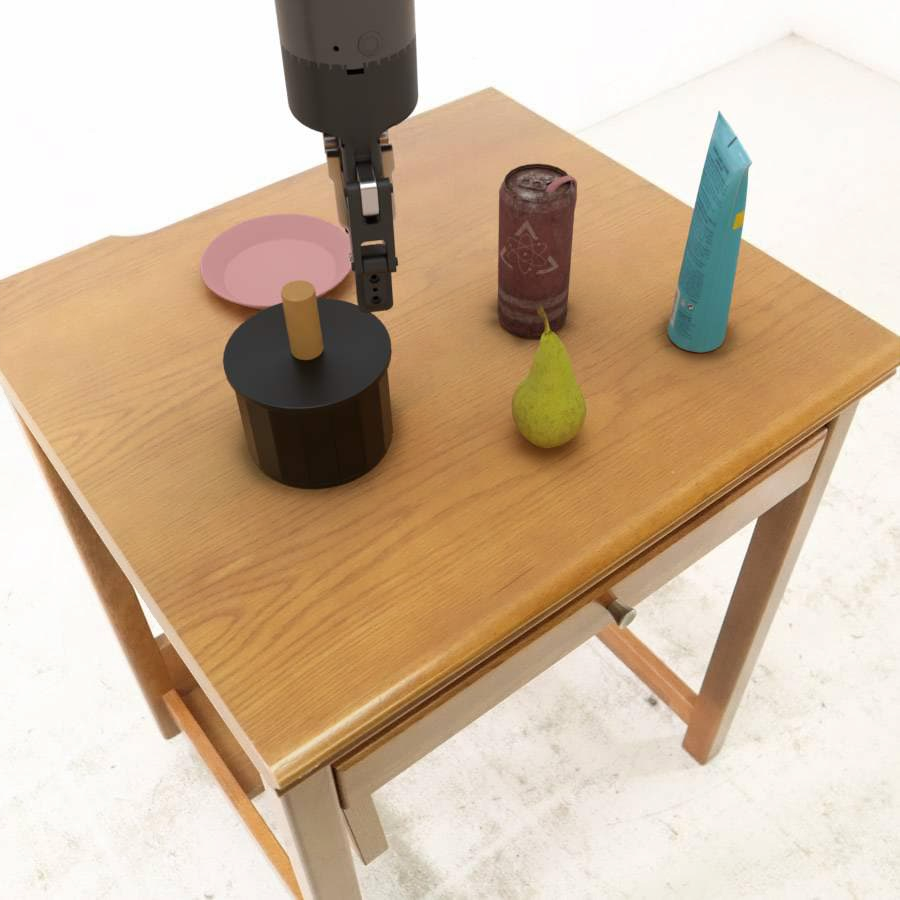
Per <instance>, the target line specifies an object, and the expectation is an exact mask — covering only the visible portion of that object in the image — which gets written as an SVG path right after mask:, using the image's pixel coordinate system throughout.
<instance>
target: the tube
mask: <svg viewBox="0 0 900 900" xmlns="http://www.w3.org/2000/svg"><path fill="white" fill-rule="evenodd" d="M752 164H753V160H752V159H751V157H750V155H749V154H748V152H747V151H746V149H745V147H744V145H743V144H742V143H741V141H740V139H739V137H738V136H737V134H736V133H735V131H734V130H733V128H732V126H731V124H729V122H728V120H726V118H725V116H724V115H723V113H722V112H721V110H718V113H717V116H716V119H715V123H714V126H713V130H712V133H711V137H710V141H709V144H708V148H707V151H706V156H705V161H704V164H703V168H702V172H701V176H700V181H699V185H698V190H697V194H696V199H695V203H694V207H693V210H692V211H693V212H692V216H691V221H690V225H689V230H688V234H687V239H686V243H685V247H684V251H683V257H682V261H681V266H680V270H679V275H678V280H677V284H676V288H675V294H674V298H673V302H672V307H671V313H670V318H669V321H668V327H667V334H668V338H669V339H670V341H671V342H672V343H673V344H674V345H675V346H677V347H678V348H680V349H682V350H684V351H687V352H694V353H707V352H712V351H714V350H717V349H718V348H719V347H721V345H723V343H724V341H725V337H726V333H727V327H728V321H729V316H730V309H731V308H730V307H731V303H732V297H733V292H734V285H735V279H736V273H737V268H738V267H737V266H738V261H739V255H740V248H741V241H742V235H743V230H744V229H743V228H744V223H745V222H744V221H745V215H746V214H745V213H746V208H747V207H746V205H747V197H748V186H749V185H748V184H749V169H750V167H751V166H752Z"/></svg>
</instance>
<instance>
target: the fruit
mask: <svg viewBox="0 0 900 900" xmlns="http://www.w3.org/2000/svg"><path fill="white" fill-rule="evenodd" d="M537 312H538V313H539V315H540V316H541V317H542V319H543V320H544V324H545V331H544V333H543V334H542V336H541V337H540V339H539V340H540V341H539V345H538V348H537V350H536V351H535V354H534V356H533V359H532V363H531V367H530V368H529V369H530V370H529V372H528V373H527V375H526V377H525V378H524V379H523V380H522V381H520V382H519V384H518V386H517V387H516V388H515V390H514V393H513V395H512V399H511V416H512V420H513V422H514V424H515V426H516V428H517V429H518V431H519V432H520V434H521V435H522V436H523V437H524V438H525V439H526V440H527V441H528V442H529V443H531V444H533V445H534V446H536V447H539V448H544V449H547V448H548V449H550V448H555V447H559V446H562V445H564V444H566V443H568V442H569V441H570V440H572V439H573V438H574V437H575V436H576V435H577V434H578V433H579V432H580V431H581V429H582V427H583V425H584V423H585V420H586V415H587V405H586V404H587V403H586V399H585V396H584V393H583V391H582V388H581V386H580V385H579V383H578V381H577V378H576V377H575V376H576V375H575V373H574V369H573V368H574V367H573V365H572V361H571V358H570V355H569V353H568V350H567V348H566V347H565V344H564V343H563V342H562V341H561V339H560V337H559V336H558V335H557V334H556V333H555V332H552V331H550V328H549V324H548V320H547V316H546V314H545V312H544V310H543V307H542V306H538V307H537Z"/></svg>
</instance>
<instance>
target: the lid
mask: <svg viewBox="0 0 900 900" xmlns="http://www.w3.org/2000/svg"><path fill="white" fill-rule="evenodd" d="M281 297H282V303H279V304H276V305H273V306H270V307H268V308H266V309H263V310H259V311H258V312H256V313H254V314H252V315H251V316H250V317H248V318H247V319H246V320H244V321H243V322H242V323H241V324H239V325H238V327H237V328H235V330H234V331H233V332H232V334H231V335H230V336H229V338H228V340H227V342H226V344H225V346H224V351H223V354H222V356H223V357H222V365H223V370H224V374H225V377H226V380H227V382H228V384H229V385H230V387H231V388H232V389H233V391H234V393H235V392H236V393H237V394H238V395H240V396H241V397H242V398H243V399H245V400H246V401H248V402H250V403H251V404H253V405H256V406H258V407H260V408H263V409H266V410H269V411H274V412H279V413H288V414H309V413H317V412H323V411H328V410H331V409H335V408H338V407H341V406H344V405H346V404H349V403H351V402H353V401H355V400H357V399H358V398H360V397H362V396H363V395H365V394H366V393H367V392H369V391H370V390H371V389H372V388H374V387H375V386H376V385H377V384H378V382H379V381H380V380H381V379H382V377H383V376H384V375H385V373H386V371H387V370H388V369H389V367H390V364H391V361H392V353H393V350H392V339H391V336H390V333H389V331H388V329H387V327H386V326H385V324H384V323H383V322H382V321H381V319H380V318H379V317H377V316H376V315H375V314H374V313H373V312H370V313H363V312H361V311H360V310H359V308H358V304H355V303H353V302H350V301H346V300H343V299H337V298H332V297H331V298H329V297H320V298H316V292H315V287H314V286H313V284H311V283H310V282H308V281H304V280H296V281H292V282H289V283H287V284H286V285H284V286H283V288H282V290H281ZM236 393H235V394H236Z"/></svg>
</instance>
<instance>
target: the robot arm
mask: <svg viewBox="0 0 900 900" xmlns="http://www.w3.org/2000/svg"><path fill="white" fill-rule="evenodd" d="M274 8H275V16H276V22H277V23H276V24H277V30H278V38H279V45H280V51H281V52H280V53H281V59H282V60H281V61H282V68H283V75H284V83H285V90H286V98H287V105H288V108H289V112H290V113H291V114H292V116H293V117H294V119H296V120H297V122H298V123H300V124H301V125H303V126H304V127H306V128H308V129H310V130H312V131H314V132H318V133H321V134H322V142H323V149H324V154H325V160H326V166H327V174H328V178H329V179H330V180H331V181H332V182H333V188H334V196H335V204H336V213H337V219H338V224H339V226H341V227H342V228H344V232H346V234H347V235H348V236H349V241H350V249H351V253H349V259H350V262H351V261H352V262H351V267H352V268H351V271H352V272H354V283H355V292H356V293H355V294H356V302H357V305H358V308H359V310H360V311H361V312H363V313H370V312H371V313H378V312H386V311H389V310H391V309H392V308H393V306H394V293H393V292H394V291H393V280H392V279H393V278H392V277H393V276H392V273H397V271H398V269H397V267H398V266H399V260H398V259H399V258H398V256H396V242H395V227H394V226H395V225H394V221H395V220H396V218H397V206H396V199H395V191H394V183H393V172H394V171H395V168H396V163H395V155H394V154H395V153H394V147H393V143H392V142H389V130H390V129H392V128H393V127H396V126H398V125H400V124H401V123H403V122H405V120H407V119H408V118H409V117H410V116H411V115H412V114H413V113H414V111H415V109H416V107H417V105H418V102H419V80H418V79H419V77H418V76H419V75H418V52H417V51H418V50H417V26H416V5H415V0H274ZM377 241H381V243H374V244H365V245H364V244H363V243H367V242H368V243H369V242H377Z"/></svg>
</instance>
